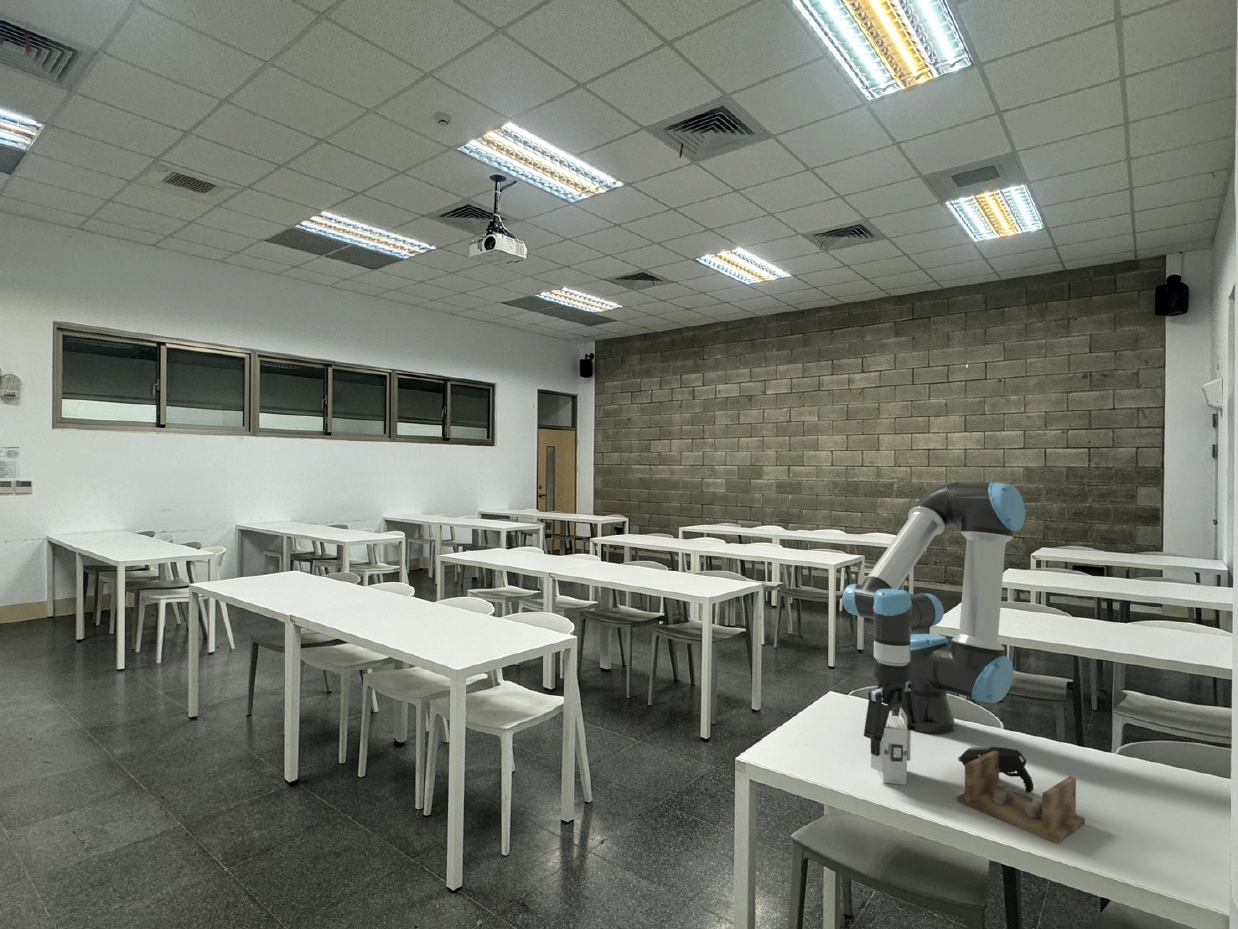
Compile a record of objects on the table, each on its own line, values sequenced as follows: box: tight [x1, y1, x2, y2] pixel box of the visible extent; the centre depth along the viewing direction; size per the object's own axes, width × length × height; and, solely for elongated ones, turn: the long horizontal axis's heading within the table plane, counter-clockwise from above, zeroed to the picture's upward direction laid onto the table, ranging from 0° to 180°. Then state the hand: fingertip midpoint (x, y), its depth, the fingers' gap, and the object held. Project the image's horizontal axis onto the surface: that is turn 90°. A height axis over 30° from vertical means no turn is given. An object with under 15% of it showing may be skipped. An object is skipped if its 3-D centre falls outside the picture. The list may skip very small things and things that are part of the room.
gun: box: [957, 746, 1034, 793], centre depth 140 cm, size 3×16×10 cm
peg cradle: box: [956, 750, 1086, 844], centre depth 127 cm, size 12×18×8 cm, turn 35°
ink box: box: [878, 707, 908, 786], centre depth 142 cm, size 8×5×15 cm, turn 168°
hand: (890, 763), depth 142 cm, fingers closed on ink box, 9 cm apart
